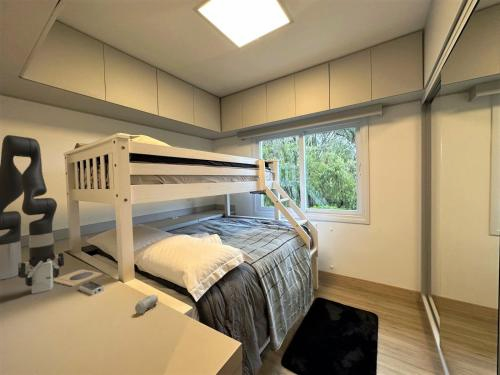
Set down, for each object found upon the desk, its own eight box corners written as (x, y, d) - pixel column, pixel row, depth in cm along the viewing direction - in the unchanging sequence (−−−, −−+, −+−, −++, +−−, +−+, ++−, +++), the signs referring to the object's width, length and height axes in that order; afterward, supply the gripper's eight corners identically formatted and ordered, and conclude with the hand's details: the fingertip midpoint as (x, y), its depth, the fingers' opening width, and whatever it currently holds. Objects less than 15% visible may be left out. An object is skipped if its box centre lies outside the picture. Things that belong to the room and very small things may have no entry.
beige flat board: (50, 281, 97) (50, 279, 97) (82, 270, 109) (81, 269, 109) (72, 286, 91) (72, 285, 91) (102, 274, 103) (102, 273, 103)
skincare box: (31, 294, 85) (30, 265, 85) (35, 290, 88) (34, 262, 88) (51, 290, 88) (50, 262, 88) (54, 285, 92) (53, 259, 92)
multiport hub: (91, 285, 91) (91, 280, 91) (104, 291, 86) (104, 285, 86) (79, 290, 88) (79, 285, 88) (92, 296, 82) (92, 290, 82)
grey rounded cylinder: (152, 304, 77) (161, 303, 75) (132, 316, 69) (142, 315, 67) (149, 293, 77) (158, 291, 75) (129, 303, 70) (139, 302, 68)
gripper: (57, 239, 96) (58, 273, 96) (13, 248, 83) (15, 287, 83) (66, 240, 93) (68, 275, 93) (22, 249, 80) (24, 290, 80)
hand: (43, 281), depth 88 cm, fingers open, 8 cm apart
